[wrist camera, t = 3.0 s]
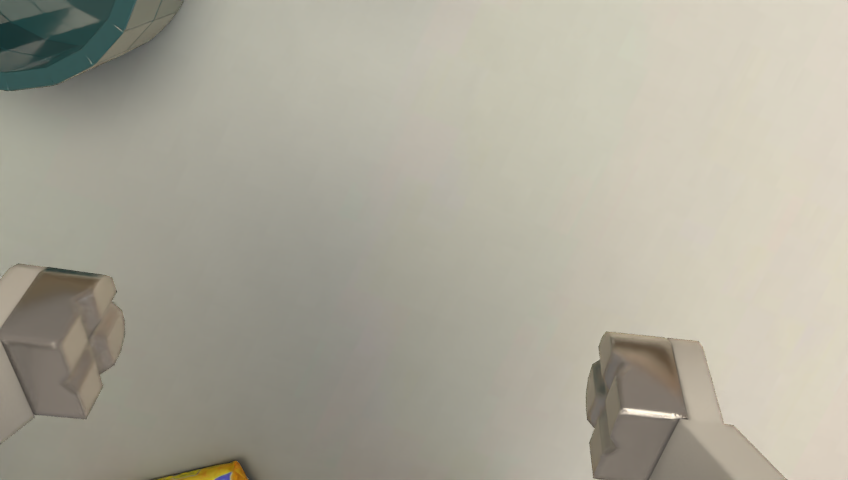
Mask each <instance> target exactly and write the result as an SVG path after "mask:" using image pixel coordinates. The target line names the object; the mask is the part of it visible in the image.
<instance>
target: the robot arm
mask: <svg viewBox="0 0 848 480" xmlns="http://www.w3.org/2000/svg"><path fill="white" fill-rule="evenodd" d="M116 293H117V290H116V287H115V284H114V281H113V278H112V277H110V276H107V275H102V274H94V273H87V272H80V271H73V270H66V269H58V268H51V267H40V266H33V265H26V264H16V265H14V266H13V267H11V268H9V269H8V270H7V271H6V273H5V274H4V275H3V277H2V278H1V279H0V444H2V443H3V442H4V441H5V440H7V439H8V438H9V437H10V436H12V435H13V434H14V433H16V432H17V431H18V430H19V429H21V428H22V427H23V426H24V425H26V424H27V423H28V422H30V421H31V420H32V419H33V418H34V417H35V416H34V415H45V416H56V417H67V418H78V419H87V417H88V415H89V413H90V411H91V409H92V407H93V405H94V404H95V402H96V400H97V398H98V396H99V394H100V392H101V390H102V388H103V384H102V380H101V377H100V374H101V373H103V372H104V371H106V370H108V369H109V368H111V367H112V366H114V365H115V363H116V361H117V359H118V357H119V355H120V353H121V350H122V346H123V341H124V337H125V320H124V316H123V312H122V310H121V309H120V308H119V307H118V306H116V305H115V304H114V303H113V302H112V300H113V298H114V296H115V295H116ZM599 356H600V360H599V361H597V362H595V363H594V364H592V367H591V370H590V373H589V377H588V382H587V389H586V414H587V420H588V421H589V422H590V424H591V425H592V426H593V427H594V428H595V429H594V432H593V434H592V437H591V440H590V442H589V444H590V453H591V462H592V471H593V478H595V479H602V480H787V479H786V478H785V477H784V476H783V475H782V474H781V473H780V472H779V471H778V470H777V469H776V468H775V467H774V466H773V465H772V464H771V463H770V462H769V461H768V460H767V459H766V458H765V457H764V456H763V455H762V454H761V453H760V452H759V451H758V450H757V449H756V448H755V447H754V446H753V445H752V444H751V443H750V442H749V441H748V440H747V439H746V438H745V437H744V436H743V435H742V434H741V432H740V431H739V430H738V429H737V428H736V427H735V426H734V425H728V424H724V422H723V418H722V414H721V411H720V407H719V404H718V400H717V396H716V393H715V389H714V385H713V382H712V378H711V375H710V371H709V367H708V364H707V360H706V357H705V353H704V349H703V346H702V345H701V344H700V343H699V341H692V340H682V339H673V338H667V339H666V338H664V337H655V336H646V335H636V334H626V333H616V332H607V331H606V332H605V334H604V335H603V336H602V338H601V341H600V344H599Z"/></svg>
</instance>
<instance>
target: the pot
mask: <svg viewBox="0 0 848 480" xmlns="http://www.w3.org/2000/svg"><path fill="white" fill-rule="evenodd" d="M183 1H184V0H0V90H4V91H16V90H24V89H32V88H40V87H47V86H54V85H58V84H60V83H62V82H64V81H66V80H69V79H71V78H73V77H75V76H77V75H80V74H82V73H84V72H86V71H88V70H91V69H93V68H95V67H97V66H99V65H101V64H104V63H106V62H108V61H110V60H112V59H115V58H117V57H119V56H121V55H123V54H125V53H127V52H129V51H131V50H133V49H135V48H137V47H139V46H141V45H143V44H145V43H147V42H149V41H150V40H151V39H153V38H154V37H155V36H156V35H157V34H158V33H159V32H161V31H162V30H163V29H164V27H165V26H166V25H167V24H168V23H169V22H170V21H171V20H172V19H173V17H174V16H175V14H176V13H177V11H178V10H179V8H180V7H181V5H182V3H183Z"/></svg>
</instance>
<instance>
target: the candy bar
mask: <svg viewBox="0 0 848 480" xmlns="http://www.w3.org/2000/svg"><path fill="white" fill-rule="evenodd" d="M155 480H249V479H248V478H247V476H246V475H245V472H244V471H243V469H242V467H241V466H240V464H239V462H237V461H233V462H231V463H226V464H221V465H216V466H211V467H207V468H202V469H198V470H194V471H190V472H185V473H181V474H177V475H173V476H168V477H164V478H160V479H155Z"/></svg>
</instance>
